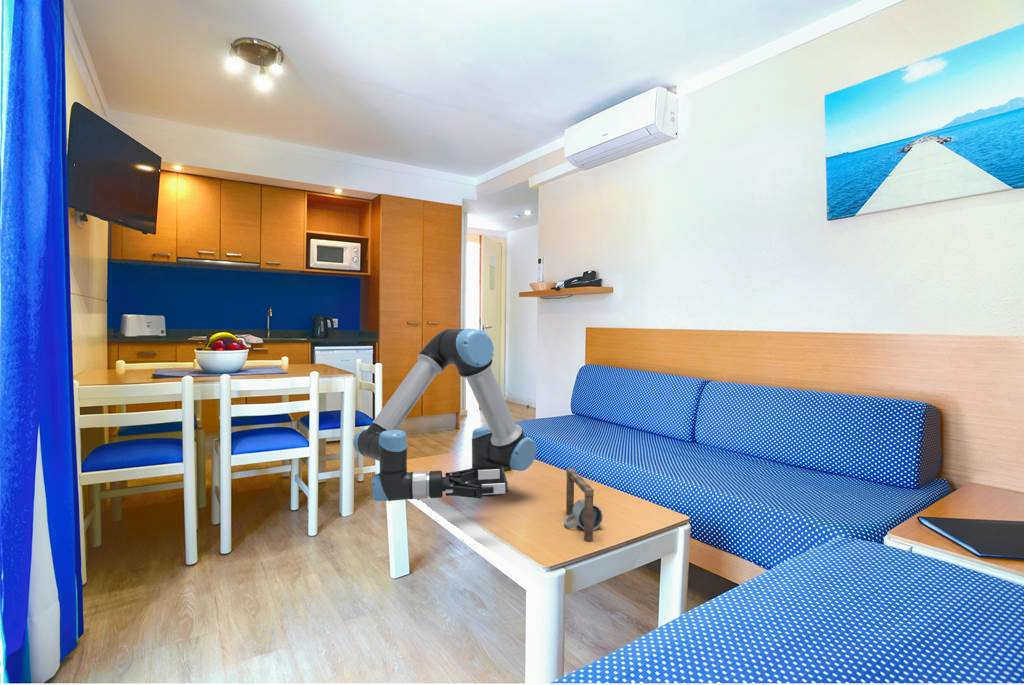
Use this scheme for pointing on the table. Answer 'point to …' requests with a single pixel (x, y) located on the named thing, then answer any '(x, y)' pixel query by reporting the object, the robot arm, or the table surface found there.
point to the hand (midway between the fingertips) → (502, 480)
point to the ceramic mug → (579, 516)
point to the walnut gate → (588, 504)
